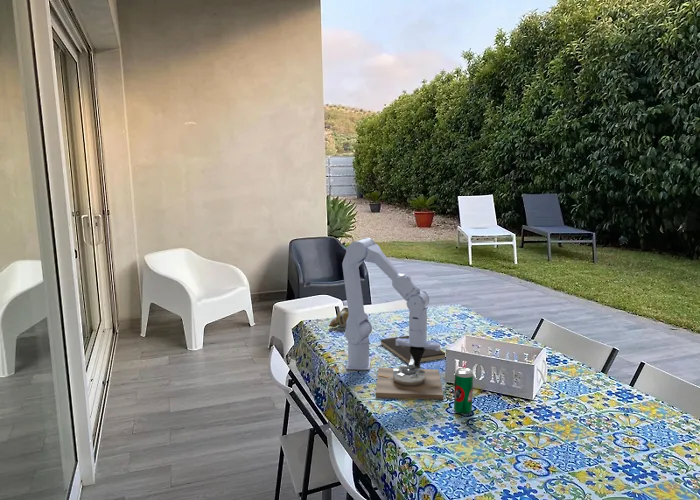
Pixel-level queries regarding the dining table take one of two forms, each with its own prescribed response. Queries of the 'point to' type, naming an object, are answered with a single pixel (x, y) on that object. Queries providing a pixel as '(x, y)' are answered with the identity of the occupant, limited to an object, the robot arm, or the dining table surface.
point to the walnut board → (423, 391)
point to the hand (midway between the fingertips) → (417, 368)
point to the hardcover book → (405, 350)
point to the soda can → (463, 391)
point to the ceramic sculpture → (340, 318)
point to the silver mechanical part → (409, 374)
